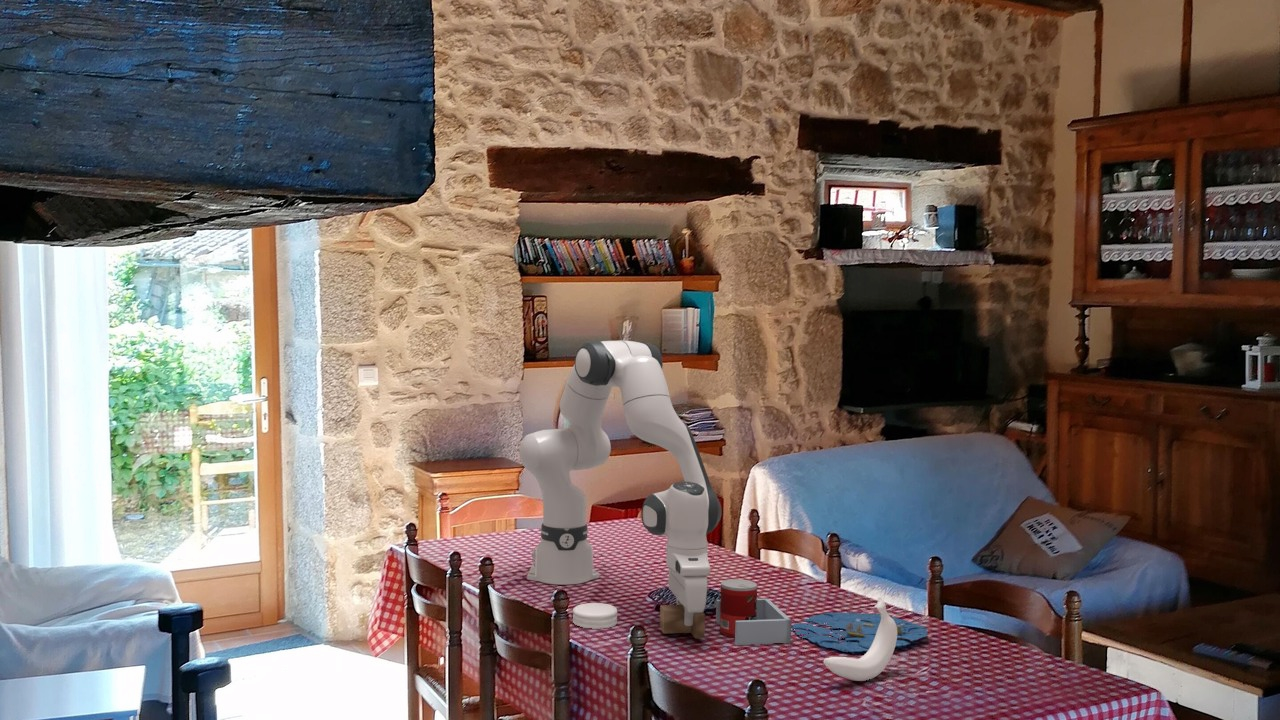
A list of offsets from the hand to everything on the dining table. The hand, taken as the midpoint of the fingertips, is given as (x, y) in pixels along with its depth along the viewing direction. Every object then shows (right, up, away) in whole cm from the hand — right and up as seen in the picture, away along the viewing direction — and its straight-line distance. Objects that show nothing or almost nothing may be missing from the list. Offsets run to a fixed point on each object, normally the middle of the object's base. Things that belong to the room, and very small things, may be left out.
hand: (685, 621), depth 233 cm
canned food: (+12, -3, +2) cm, 12 cm away
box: (+15, -3, +3) cm, 15 cm away
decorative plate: (+38, -4, +3) cm, 39 cm away
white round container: (-20, -3, +7) cm, 21 cm away
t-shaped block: (-2, -2, 0) cm, 3 cm away
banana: (+33, -5, -25) cm, 42 cm away
